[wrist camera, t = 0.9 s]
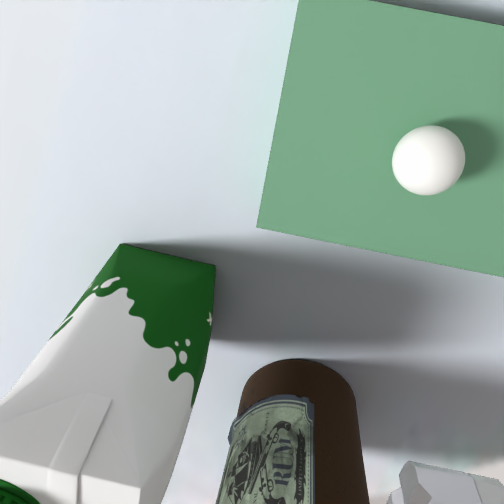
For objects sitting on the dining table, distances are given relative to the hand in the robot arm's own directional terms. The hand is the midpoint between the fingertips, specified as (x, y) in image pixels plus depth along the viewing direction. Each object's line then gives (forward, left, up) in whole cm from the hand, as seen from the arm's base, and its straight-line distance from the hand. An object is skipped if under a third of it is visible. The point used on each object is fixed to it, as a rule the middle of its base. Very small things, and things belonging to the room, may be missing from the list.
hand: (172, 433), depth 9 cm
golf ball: (-1, +8, -19) cm, 21 cm away
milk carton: (+14, -6, -24) cm, 29 cm away
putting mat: (-1, +11, -24) cm, 26 cm away
